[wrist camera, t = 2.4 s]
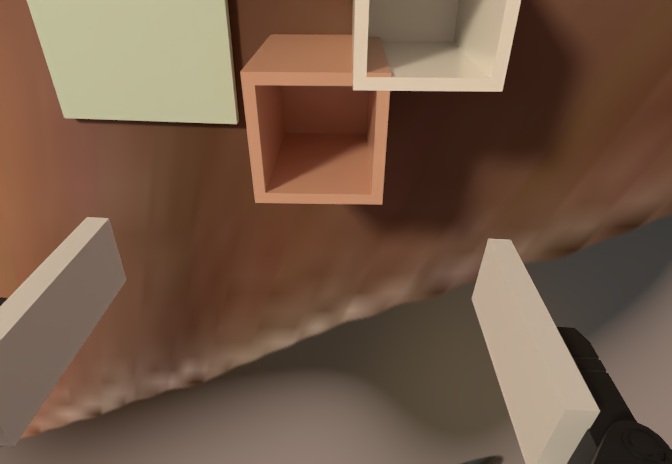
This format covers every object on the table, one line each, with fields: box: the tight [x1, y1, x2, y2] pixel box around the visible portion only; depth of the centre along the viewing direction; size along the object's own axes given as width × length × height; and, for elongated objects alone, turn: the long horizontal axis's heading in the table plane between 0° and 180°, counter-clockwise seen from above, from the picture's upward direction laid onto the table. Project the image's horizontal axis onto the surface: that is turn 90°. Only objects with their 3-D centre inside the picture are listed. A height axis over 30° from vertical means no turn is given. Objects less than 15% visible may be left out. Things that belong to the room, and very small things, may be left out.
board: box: [27, 0, 239, 124], centre depth 32 cm, size 14×14×1 cm
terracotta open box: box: [240, 34, 391, 205], centre depth 30 cm, size 8×8×11 cm
